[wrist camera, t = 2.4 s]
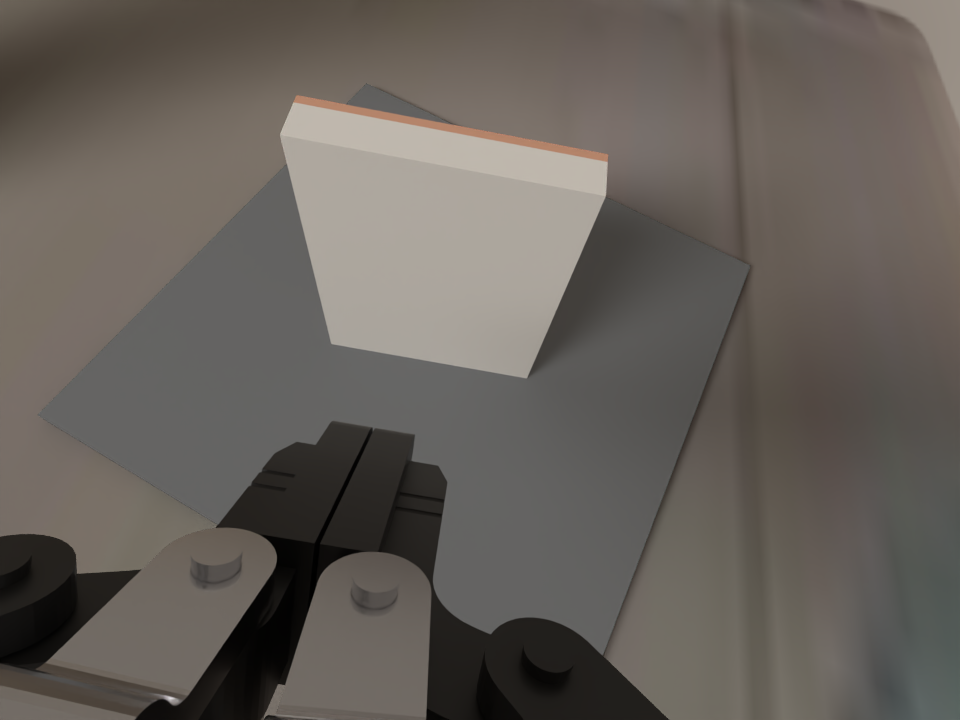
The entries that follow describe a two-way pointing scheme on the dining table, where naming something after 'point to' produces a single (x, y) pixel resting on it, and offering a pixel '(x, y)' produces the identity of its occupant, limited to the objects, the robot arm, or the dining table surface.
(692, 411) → the mat
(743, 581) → the dining table surface
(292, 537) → the robot arm
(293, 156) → the tile
